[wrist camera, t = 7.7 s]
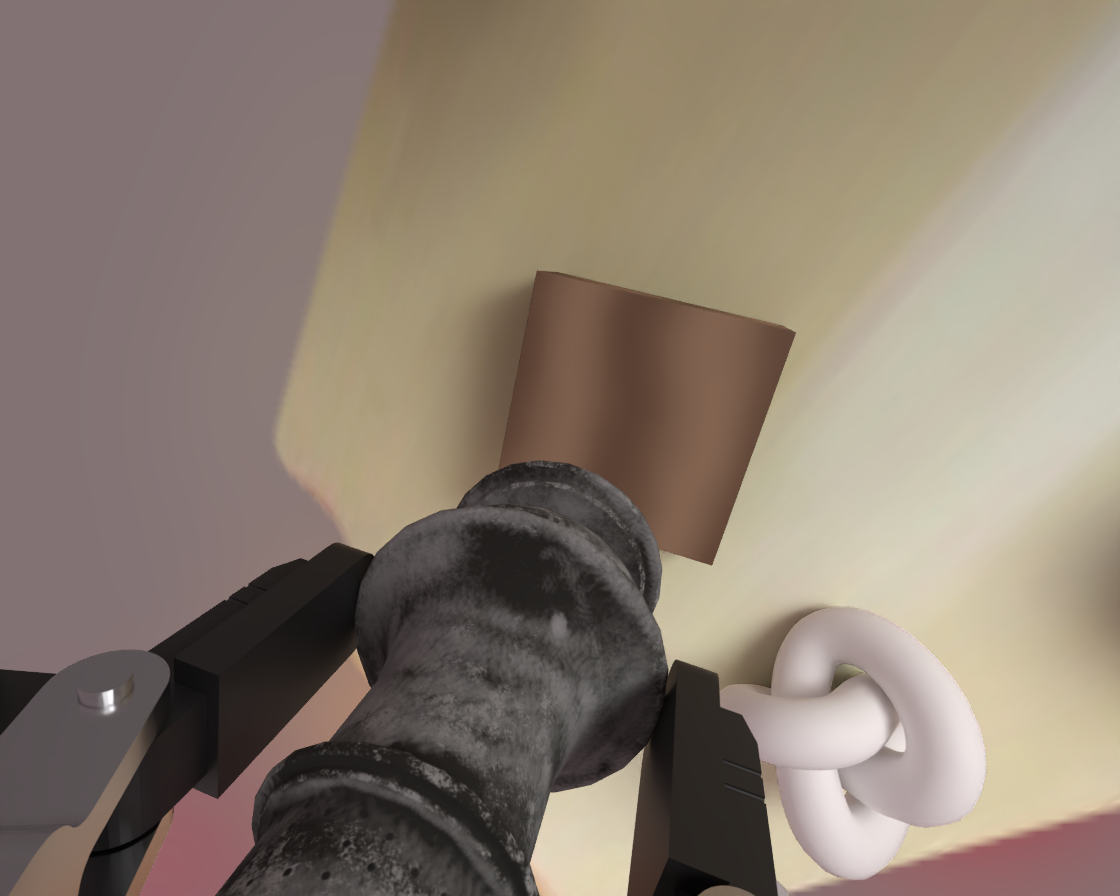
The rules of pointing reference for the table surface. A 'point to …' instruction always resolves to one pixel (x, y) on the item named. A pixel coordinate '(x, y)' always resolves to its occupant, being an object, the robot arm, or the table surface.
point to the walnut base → (646, 400)
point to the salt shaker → (474, 695)
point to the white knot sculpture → (862, 739)
